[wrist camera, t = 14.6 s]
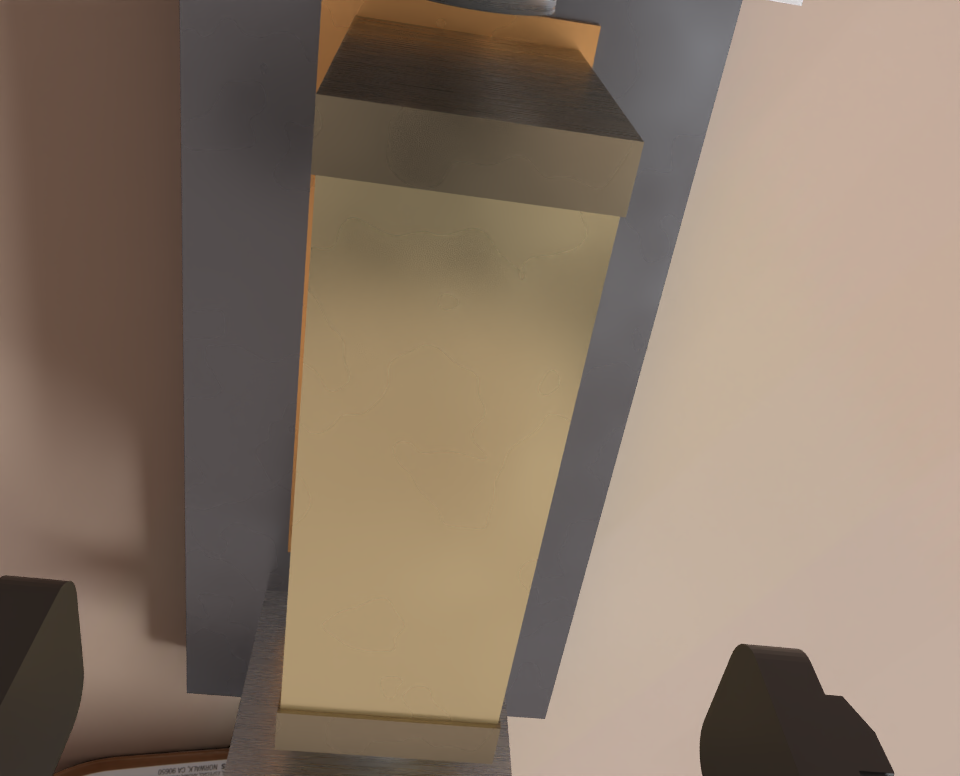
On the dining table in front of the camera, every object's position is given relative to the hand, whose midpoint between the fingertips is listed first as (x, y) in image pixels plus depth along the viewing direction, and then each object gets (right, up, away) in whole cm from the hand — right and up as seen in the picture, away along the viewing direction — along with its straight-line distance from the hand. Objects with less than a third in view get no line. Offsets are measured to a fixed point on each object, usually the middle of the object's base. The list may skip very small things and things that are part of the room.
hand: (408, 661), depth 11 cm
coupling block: (0, +5, +8) cm, 10 cm away
